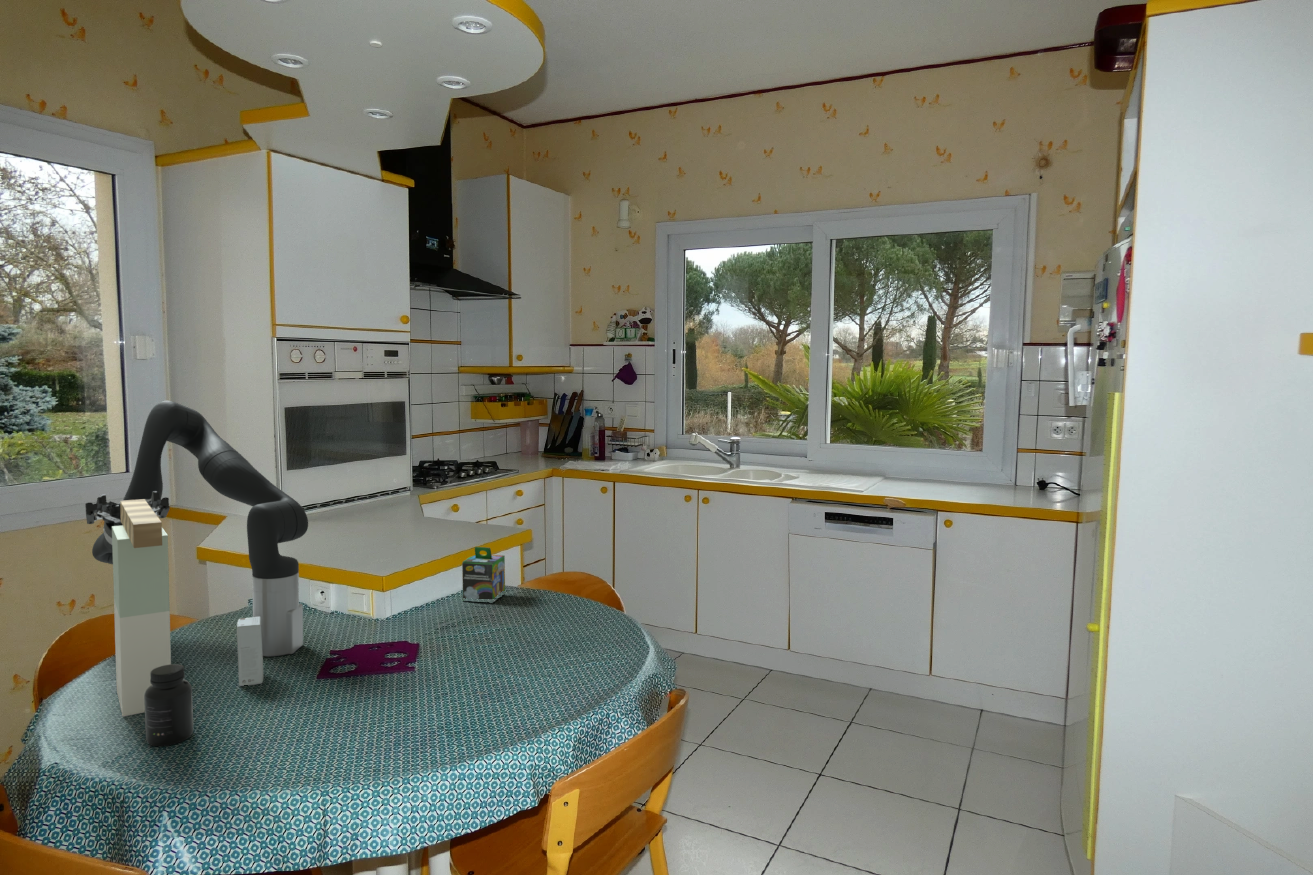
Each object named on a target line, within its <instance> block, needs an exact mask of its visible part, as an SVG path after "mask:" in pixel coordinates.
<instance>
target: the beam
mask: <svg viewBox="0 0 1313 875" xmlns="http://www.w3.org/2000/svg"><path fill="white" fill-rule="evenodd" d="M119 503H120V514H121V523H122V525H123V527H124V529H125V531H126V533H127V535H128V537H129V539H130V541H131V543H132V545H133V547H134V548H141V547H152V546H162V528H163V524H162V520H161V518H159V516H157V515H156V514H155V513H154V511H153V510H152V509H151V507H150V506H149V504H148V503H147V502H146V500H145V499H140V500H124V501H123V500H120V501H119Z"/></svg>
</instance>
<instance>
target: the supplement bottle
mask: <svg viewBox="0 0 1313 875" xmlns="http://www.w3.org/2000/svg"><path fill="white" fill-rule="evenodd" d="M150 677H151V679H150V683H151V684H152V685H151V686H150V687H148V688H147V690H146V691H145V694H144V706H145V712H144V723H145V724H144V726H145V740H146V743H147V744H148V745H150V746H153V747H168V746H173V745H177V744H179V743H182V742H184V741H186V740H187V739H189V738H191V736H192V735H193V732H194V711H193V710H194V707H193V687H192V684H191V683H190V682H189V681H188V680H187V679H185V678H186V674H185V667H184V665H182V664H180V663H179V664H177V663H174V664H172V663H171V664H170V665H164V666H161V667H158V668H155V669H153V670H152V671H151V673H150Z"/></svg>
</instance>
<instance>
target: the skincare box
mask: <svg viewBox="0 0 1313 875" xmlns="http://www.w3.org/2000/svg"><path fill="white" fill-rule="evenodd" d="M236 624H237V625H236V644H237V668H238V670H237V672H238V686H239V687H245V686H244V685H248V686H253V685H259V684H262V683H263V681H264V659H263V658H264V656H263V654H262V634H261V617H253V616H251V617H243V618H238V619H237V623H236Z"/></svg>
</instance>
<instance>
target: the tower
mask: <svg viewBox="0 0 1313 875" xmlns="http://www.w3.org/2000/svg"><path fill="white" fill-rule="evenodd" d="M112 550H113V564H112V571H113V572H112V576H113V578H112V579H113V605H114V606H113V607H114V608H113V610H114V611H113V612H114V645H115V646H114V647H115V675H116V676H115V677H116V678H115V681H116V693H117V697H118V702H119V707H120V711H121V716H122V717H129V716H133V715H137V714H141V713H145V706H144V694H145V691H146V690H147V688H148V687H150V686H151V685H152V684H151V683H150V679H151V677H150V673H151V671H152V670H153V669H155V668H158V667H161V666H164V665H170V664H172V656H171V655H172V654H171V652H172V649H171V648H172V647H171V610H170V609H171V607H170V573H169V572H170V571H169V570H170V568H169V565H170V564H169V535H168V533H167V532H166V531H165V529H164V528H163V527H162V546H152V547H141V548H134V547H133V545H132V543H131V541H130V539H129V537H128V535H127V533H126V531H125V529H124V527H123V525H122V526H112Z"/></svg>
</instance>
